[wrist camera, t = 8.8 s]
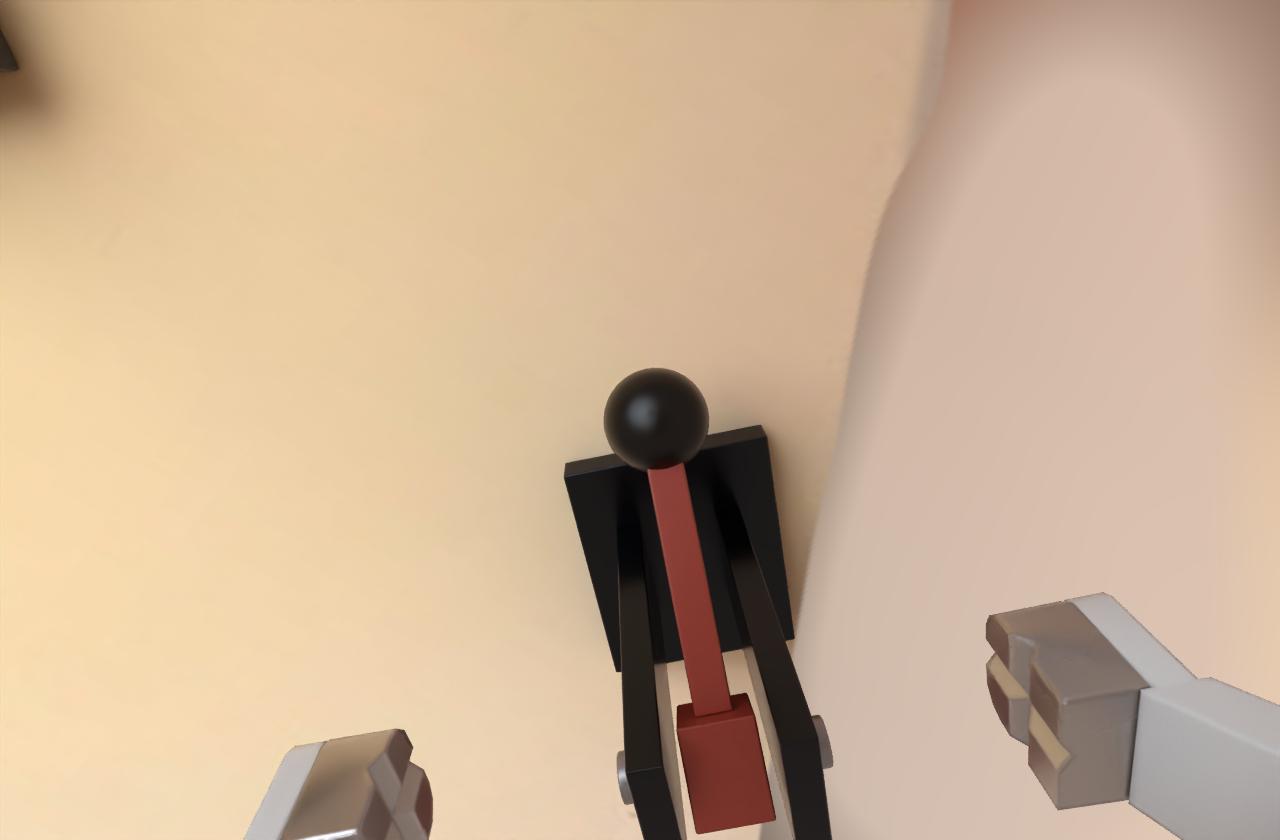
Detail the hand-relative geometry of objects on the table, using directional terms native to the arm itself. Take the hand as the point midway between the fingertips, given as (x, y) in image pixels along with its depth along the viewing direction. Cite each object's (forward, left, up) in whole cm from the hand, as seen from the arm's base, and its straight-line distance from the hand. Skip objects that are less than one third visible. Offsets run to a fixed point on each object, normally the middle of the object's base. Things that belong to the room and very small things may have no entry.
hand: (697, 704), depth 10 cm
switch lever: (+5, +4, -11) cm, 13 cm away
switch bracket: (+7, +7, -19) cm, 21 cm away
